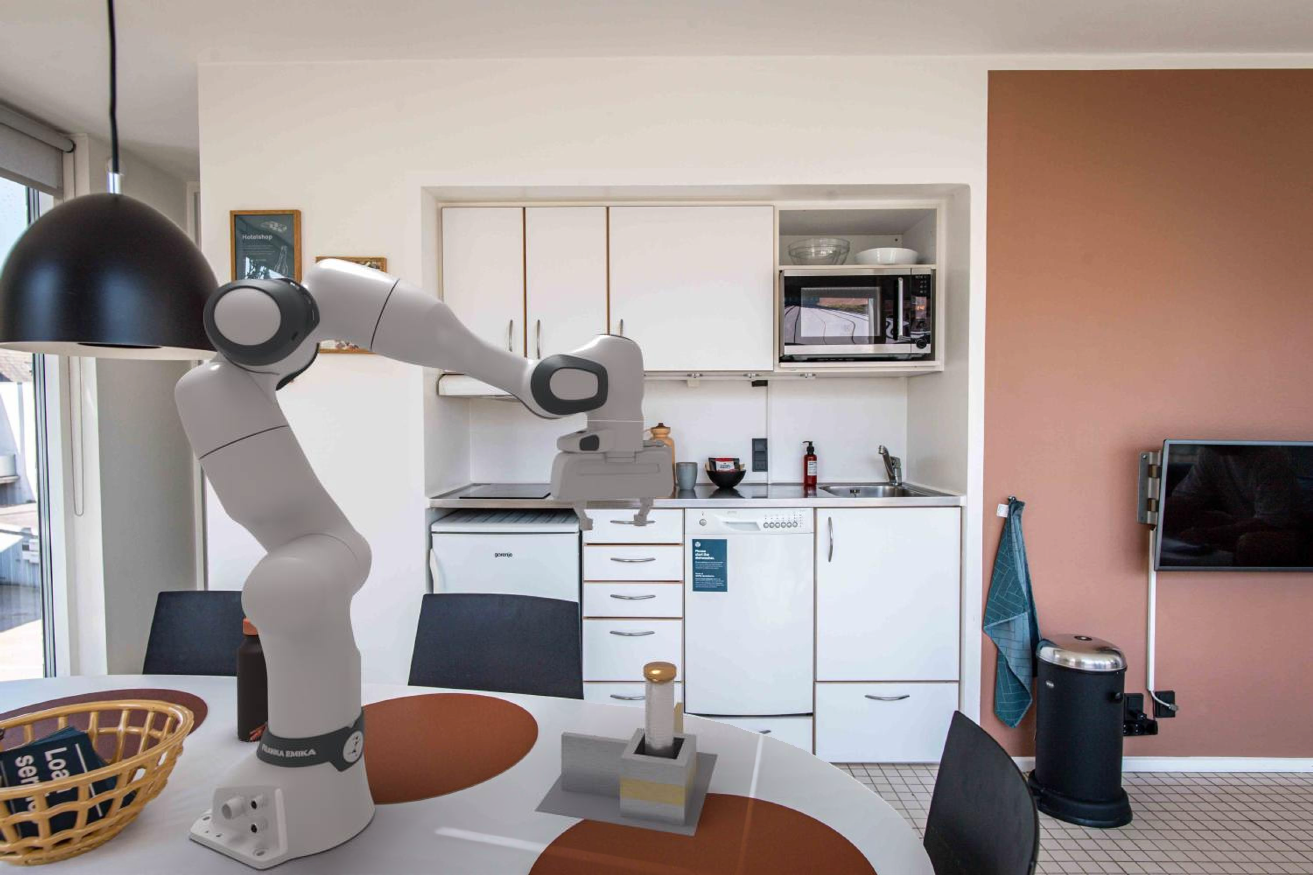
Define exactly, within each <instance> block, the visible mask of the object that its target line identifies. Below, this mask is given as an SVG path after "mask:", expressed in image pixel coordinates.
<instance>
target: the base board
mask: <svg viewBox="0 0 1313 875" xmlns="http://www.w3.org/2000/svg"><path fill="white" fill-rule="evenodd" d="M717 758H718V754H717V753H716V754H715V753H707V752H700V751H696V791H695V794H694V797H693V801H692V804H691V807H690V810H689V813H688V816H687V820H686V823H685V826H677V825H671V824H665V823H658V822H652V821H646V820H639V819H633V818H626V817H620V799H618V798H611V797H604V796H598V795H591V794H584V793H578V792H571V791H564V790H561V774H560V775H559V776H558V778H557V779H556V780H555V782H554V783H553V785H552V786H551V787H550V789H549V790H548V792H546V795H545V796H544V797H543V799H542V800H541V802H539V804H538V806H537V807H536V809H534V811H535V812H539V813H543V814H544V813H545V814H551V815H552V814H553V815H557V816H563V817H564V816H565V817H568V818H569V817H570V818H577V819H582V820H589V821H595V822H601V823H606V824H607V823H608V824H614V825H620V826H626V827H627V826H628V827H632V828H640V829H645V830H646V829H647V830H653V831H657V832H663V833H664V832H665V833H669V834H678V835H683V836H687V837H688V836H689V837H695V834H696V831H697V828H698V825H699V821H700V817H701V813H702V812H703V811H702V809H703V807H704V803H705V801H706V797H707V792H708V790H709V786H710V783H711V782H710V781H711V780H712V779H711V778H712V775H713V771H714V768H715V764H716V762H717Z"/></svg>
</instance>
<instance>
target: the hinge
mask: <svg viewBox="0 0 1313 875" xmlns="http://www.w3.org/2000/svg"><path fill="white" fill-rule="evenodd" d="M560 737H561V738H560V740H561V743H560V745H561V749H560V751H561V755H560V756H561V757H560V758H561V761H560V762H561V764H560V765H561V766H560V772H561V773H560V775H561V790H564V791H571V792H578V793H584V794H591V795H598V796H604V797H611V798H618V799H620V817H626V818H633V819H639V820H646V821H652V822H658V823H665V824H671V825H677V826H685V823H686V820H687V816H688V813H689V810H690V807H691V804H692V801H693V797H694V794H695V791H696V752H697V734H691V733H684V702H681V701H679V702H678V701H677V702H676V703H675V705H674V759H668V758H660V757H653V756H645V727H644V728H642V727H637V728H636V730H635V731H634V733H633V735H632V737H631V738H630V740H629V739H621V738H615V737H607V736H598V735H592V734H583V733H575V732H568V731H563V732H562V734H561V736H560Z"/></svg>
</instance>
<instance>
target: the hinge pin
mask: <svg viewBox="0 0 1313 875" xmlns="http://www.w3.org/2000/svg"><path fill="white" fill-rule="evenodd" d="M642 673H643V678H645V687H644V688H645V697H644V701H645V702H644V704H645V705H644V707H645V708H644V711H645V712H644V724H645V726H644V729H645V756H653V757H660V758H668V759H674V708H675V678H677V675H678V674H677V673H678V670H677V666H676V664H674V663H671V662H668V661H652V662H647V663H646V664H645V665H644V666H643V672H642Z"/></svg>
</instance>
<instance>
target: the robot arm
mask: <svg viewBox="0 0 1313 875" xmlns="http://www.w3.org/2000/svg"><path fill="white" fill-rule="evenodd" d="M202 317H203V318H202V319H203V320H202V321H203V327H204V330H205V333H206V336H207V337H208V339H209V341H210V342H211V344H212V346H213V347H214V348H215V349H216V350H217V352H216V354H215V356H214V357H213V358H212V359H210V360H209V361H208V362H205V363H202V364H199V365H197V366H196V367H193V368H191V369H190V370H188V371H187V372H186V373H185V374H184V375H183V376H181V377H180V378H179V379H178V380H177V382H176V384H175V386H174V391H173V392H174V394H173V395H174V401H175V404H176V408H177V412H178V415H179V418H180V422H181V425H182V427H183V430H184V432H185V435H186V437H187V439H188V440H187V441H188V442H189V444H190V447H191V449H192V451H193V453H194V456H195V458H196V459H197V461H198V463H199V465H200V466H201V468H202V470H203V472H204V475H205V476H206V477H207V479H208V482H209V484H210V486H211V487H212V489H213V491H214V493H215V495H216V496H217V499H218V500H219V501H220V504H221V506H222V508H223V510H224V512H225V513H226V514H227V516H228V517H229V518H230V519H231V520H232V521H234V522H235V523H238V524H239V525H241V526H242V527H243V528H244V529H245V530H247V532H248V533H250V535H251V536H252V537H254V539H255V540H256V541H257V542H258V543H259V545H261V547H262V548H263V549H264V550H265V551H266V552H267V554H266V555H264V556H262V558H261V559H260V560H259V561H258V563H257V564H256V565H255V566H254V567H253V569H252V570H251V572H250V574H249V575H248V576H247V578H246V579H245V581H244V583H243V586H242V591H241V597H240V598H241V599H240V601H241V608H242V611H243V613H244V615H245V618H247V619H248V620H249V621H250V622H251V624H252V625H253V626H255V627H256V628H257V631H258V634H259V638H260V642H261V645H262V649H263V653H264V657H265V662H266V667H267V677H268V721H267V722H265V725H263V726H261V727H260V728H258V729H256V730H254V731H252V732H251V733H250V734H253V733H255V732H257V731H258V733H256V734H255V735H254V736H253V737H252V738H251V739H250V740H251V741H250V742H253V741H252V740H254V739H256V738H257V737H259V736H261V735H262V737H261V740H259V743H258V745H257V748H256V750H255V751H254V752H253V753H251V754H249V755H248V756H247V757H246V758H245V759H243V760H242V761H241V762H239V764H237V765H236V766H235V767H233V768H232V769H231V770H230V771H228V772H227V773H226V774H225V775H223V777H222V778H221V779H220V781H219V782H218V784H217V785H216V788H215V790H214V793H213V799H212V806H211V807H210V808H209V809H208V810H206V811H205V812H204V813H203V814H202V815H200V817H198V819H197V820H196V821H195V822H194V823H193V824H192V826H191V828H190V830H189V838H190V839H191V840H193V841H195V842H197V843H199V844H201V845H204V846H206V847H208V848H210V849H212V850H214V851H217V852H220V853H222V854H224V855H225V856H228V857H231V858H233V859H234V860H237V861H239V862H241V863H244V864H245V865H247V866H250V867H253V868H254V869H258V870H265V869H269V868H271V867H274V866H277V865H279V864H282V863H284V862H286V861H289V860H291V859H296V858H301V857H304V856H309V855H310V856H311V855H313V854H317V853H321V852H323V851H327V850H329V849H332V848H334V847H336V846H339V845H341V844H343V843H345V842H347V841H348V840H350V839H351V838H353V837H355V836H356V835H357V834H359V833H360V832H361V831H362V830H364V829H365V828H366V827H367V826H368V824H369V823H370V822H371V820H372V819H373V817H374V815H375V811H376V806H375V803H374V800H373V796H372V794H371V790H370V786H369V781H368V776H367V771H366V763H365V762H366V761H365V757H364V746H365V740H366V717H365V710H364V707H362V655H361V651H360V649H359V648H358V647H357V643H356V641H355V636H354V630H353V626H352V620H351V605H352V600H353V597H354V596H355V595H356V594H357V593H358V592H359V591H360V590H361V589H362V587H364V586H365V583H366V582H367V580H368V578H369V576H370V574H371V573H370V572H371V568H372V561H373V554H372V549H371V545H370V544H369V541H367V539H366V537H364V536H363V535H362V534H361V533H360V532H358V531H357V530H356V529H355V527H354V526H353V525H352V523H351V522H350V520H349V518H348V517H347V516H346V515H345V513H344V511H343V510H342V509H341V508H340V506H339V505H338V504H337V503H336V501H335V500H334V499H333V497H331V495H330V493H328V491H327V490H326V488H325V487H324V486H323V484H322V483H321V481H320V479H319V478H318V476H317V475H316V473H315V471H314V469H313V467H312V464H311V463H310V462H309V459H308V457H307V456H306V454H305V452H304V450H303V447H302V446H301V444H300V442H299V440H298V439H297V436H296V434H295V433H294V431H293V428H292V427H291V425H290V424H289V421H288V419H287V418H286V416H285V414H284V412H283V409H282V408H281V405H280V403H279V401H278V397H277V392H278V391H280V390H282V389H283V388H285V386H287V385H288V384H290V382H292V381H293V380H294V379H296V378H297V377H299V376H300V375H302V374H303V373H304V372H306V371H307V370H308V369H309V368H310V367H311V366H312V365H313V364H314V362H315V360H316V359H317V358H318V355H319V352H320V351H319V350H320V344H321V343H322V342H325V341H339V342H343V343H347V344H348V343H349V344H352V345H354V346H356V347H359V348H361V349H363V350H366V351H367V352H370V353H371V352H372V353H374V354H376V355H379V356H382V357H384V358H388V359H391V360H393V361H394V360H395V361H398V362H402V363H405V364H411V365H415V366H421V367H425V368H431V369H440V370H445V371H446V370H447V371H450V372H455V373H459V374H461V375H464V376H468V377H470V378H472V379H475V380H478V381H479V382H483V383H485V384H487V385H489V386H492V387H494V388H497V389H499V390H502V391H504V392H505V393H508V394H510V395H511V396H513V397H514V398H516V399H517V400H518V401H519V402H520V403H521V404H522V405H523V407H525V408H526V409H527V410H528V412H530V413H532V414H533V415H534V416H536V417H539V418H540V419H543V420H549V421H550V420H551V421H552V420H554V421H556V420H559V419H562V418H568V417H571V416H575V415H577V414H580V413H583V414H585V415H586V420H587V421H586V428H583V429H580V430H577V431H574V432H571V433H567V434H565V435H561V436H559V437H558V438H557V439H556V448H557V450H558V451H560V452H558V453H557V454H556V455H555V456H554V459H553V461H552V466H551V473H550V480H549V481H550V484H549V491H550V496H551V497H552V498H553V499H554V500H555V501H557V502H561V503H572V508H573V511H574V512H575V514H576V515H577V517H578V518H579V530H580V531H582V532H584V531H585V532H587V531H593V529H594V526H593V524H594V518H590V517H588V516H587V514H586V512H585V510H584V509H587V507H588V505H587V503H588V502H593V501H612V500H613V501H614V500H631V499H639V504H641V507H640V509H639V510H638V513H636V514H633V526H634V527H637V528H638V527H639V528H640V527H641V528H642V527H647V524H648V523H647V522H648V516H649V514H650V512H651V509H652V508H653V506H654V498H669V497H670V496H672V493H673V492H674V489H675V488H674V485H675V484H674V471H673V464H672V462H673V450H672V448H671V445H669V444H668V443H667V442H666V441H665V440H663V439H662V440H661V439H656V440H651V439H644V428H645V427H644V426H645V425H644V422H645V421H644V419H645V418H644V415H643V411H642V403H643V400H644V396H645V368H644V367H645V366H644V358H643V353H642V349H641V347H640V345H639V344H638V343H637V342H636V341H635V340H632V339H631V338H629V337H626V336H622V335H619V334H613V333H599V334H595V335H593V337H591V338H590V339H589V340H587V341H585V342H583V343H581V344H579V345H576V346H575V347H572V348H570V349H567V350H564V351H559V352H556V353H552V354H549V355H547V356H545V357H543V358H541V359H540V358H537V359H536V358H529V357H524V356H522V355H520V354H518V353H516V352H513V351H511V350H508V349H506V348H504V347H502V346H499V345H497V344H495V343H492V342H490V341H488V340H486V339H484V338H482V337H480V336H479V335H477V334H475V333H474V332H472V331H471V330H470V329H469V328H467V326H465V324H464V323H462V321H461V320H460V319H459V318H458V317H457V316H456V314H455V313H454V312H453V310H452V308H450V307H449V305H448V304H446V303H445V302H444V301H442V300H441V299H439V298H438V297H436V296H435V295H433V294H431V293H430V292H428V291H427V290H425V289H423V288H422V287H419V286H418V285H415V284H414V283H411V282H409V281H407V280H405V279H402V278H400V277H398V276H395V275H392V274H390V273H387V272H384V271H381V270H379V269H377V268H373V267H369V266H367V265H363V264H359V263H356V262H351V261H349V260H343V259H338V258H331V257H330V258H324V259H321V260H319V261H317V262H315V263H314V264H313V265H312V266H311V267H310V268H309V269H308V270H307V271H306V273H305V275H304V277H303V278H302V280H301V282H299V281H298V280H296V279H295V278H292V277H277V278H243V279H236V280H232V281H230V282H227V283H225V284H222V285H221V286H219V287H218V288H217V289H215V290H214V291H213V292H212V293H211V294H210V296H209V297H208V299H207V301H206V303H205V305H204V309H203V316H202Z"/></svg>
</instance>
